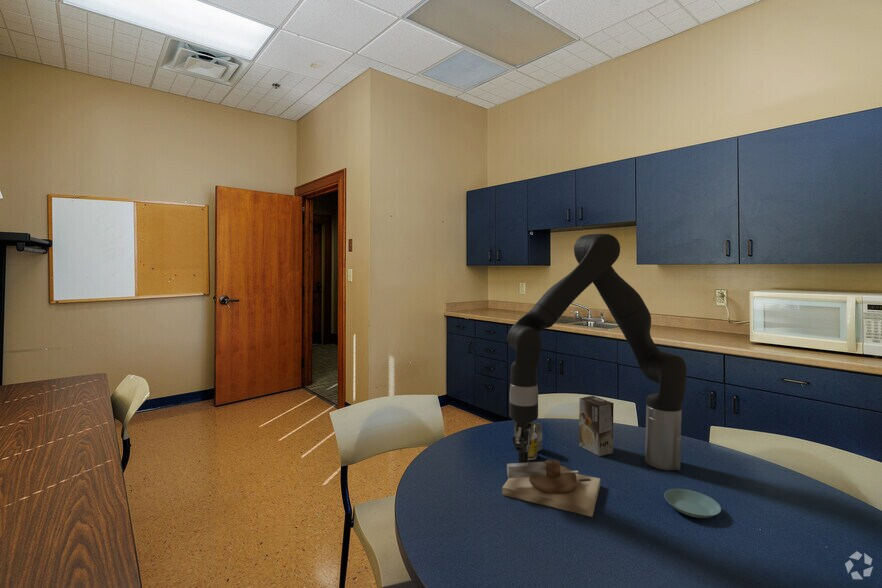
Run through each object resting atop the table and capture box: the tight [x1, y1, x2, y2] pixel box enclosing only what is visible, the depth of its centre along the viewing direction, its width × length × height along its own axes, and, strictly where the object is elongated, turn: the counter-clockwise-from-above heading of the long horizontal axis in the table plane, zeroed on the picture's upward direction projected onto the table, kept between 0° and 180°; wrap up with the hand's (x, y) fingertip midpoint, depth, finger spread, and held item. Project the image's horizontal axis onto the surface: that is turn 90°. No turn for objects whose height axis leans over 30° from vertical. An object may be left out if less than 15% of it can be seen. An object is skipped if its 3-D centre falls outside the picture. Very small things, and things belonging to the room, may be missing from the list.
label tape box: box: [513, 420, 543, 453], centre depth 139 cm, size 9×4×12 cm, turn 43°
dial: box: [506, 458, 580, 493], centre depth 111 cm, size 19×12×5 cm, turn 97°
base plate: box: [501, 473, 601, 518], centre depth 112 cm, size 22×16×2 cm
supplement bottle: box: [528, 425, 538, 461], centre depth 132 cm, size 5×5×10 cm
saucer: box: [663, 488, 722, 519], centre depth 103 cm, size 12×12×2 cm
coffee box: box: [578, 395, 615, 457], centre depth 137 cm, size 9×6×16 cm
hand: (523, 463), depth 115 cm, fingers closed
